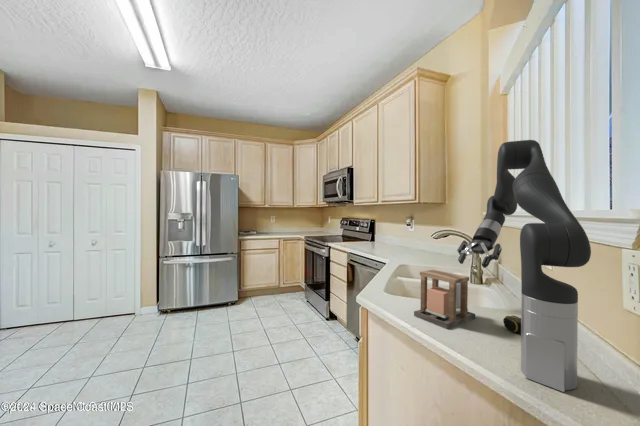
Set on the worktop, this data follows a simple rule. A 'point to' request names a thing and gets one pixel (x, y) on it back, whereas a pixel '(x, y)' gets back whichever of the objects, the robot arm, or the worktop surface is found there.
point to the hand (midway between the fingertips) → (471, 264)
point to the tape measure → (513, 323)
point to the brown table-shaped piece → (453, 317)
